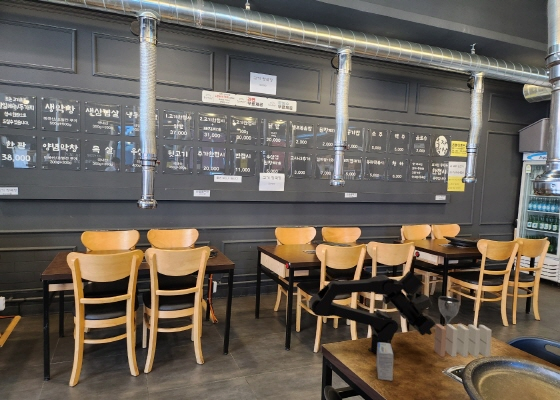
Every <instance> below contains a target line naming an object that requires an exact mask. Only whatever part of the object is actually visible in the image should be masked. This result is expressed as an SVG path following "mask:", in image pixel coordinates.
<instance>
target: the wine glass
mask: <svg viewBox="0 0 560 400" xmlns="http://www.w3.org/2000/svg"><path fill="white" fill-rule="evenodd" d="M460 304H461V301H460V299H458V298H455V297H452V296H444V295H443V296H442V295H441V296H439V297H438V310H439V312H440V314H441V315H442V316H443V318H444V320H445V323H446V324H450V322H451V320H452V319H454V318H455V317H456V316H457V315H458V313H459V310H460ZM446 324H445V325H446Z"/></svg>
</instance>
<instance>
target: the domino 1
mask: <svg viewBox="0 0 560 400" xmlns="http://www.w3.org/2000/svg"><path fill="white" fill-rule="evenodd" d="M434 326H435V327H434V339H433V340H434V342H433V351H434V352H435V353H436V354H437V355H438V356H439V357H446V351H445V347H446V327H444V326H443V325H442V324H441V323H435V325H434Z"/></svg>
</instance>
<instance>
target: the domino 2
mask: <svg viewBox="0 0 560 400" xmlns="http://www.w3.org/2000/svg"><path fill="white" fill-rule="evenodd" d="M445 329H446V347H445V353H447V354H448V355H449V356H451V357H452V358H456V357H457V353H458V352H457V335H458V329H457V327H455V326H453V325H452V324H450V323H449V324H445Z"/></svg>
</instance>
